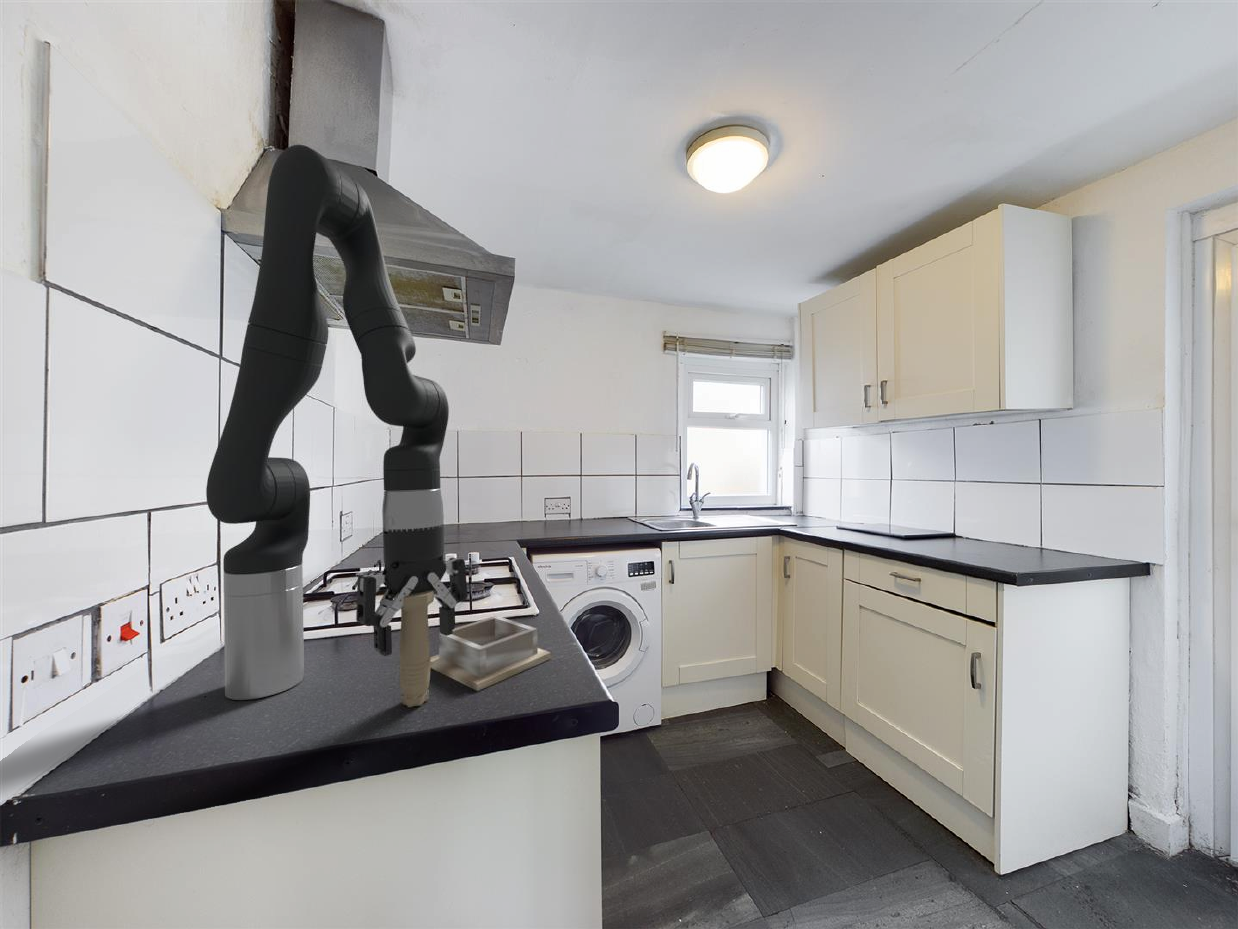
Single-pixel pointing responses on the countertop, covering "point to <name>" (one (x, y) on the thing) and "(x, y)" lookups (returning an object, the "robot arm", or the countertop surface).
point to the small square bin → (488, 652)
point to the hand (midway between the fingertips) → (417, 643)
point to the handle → (415, 648)
